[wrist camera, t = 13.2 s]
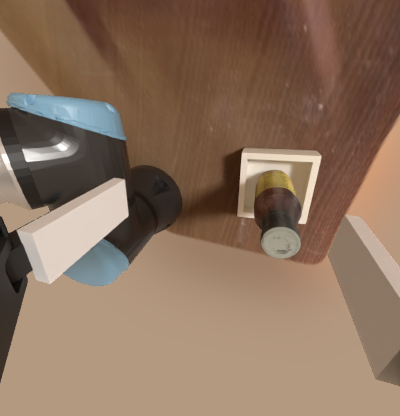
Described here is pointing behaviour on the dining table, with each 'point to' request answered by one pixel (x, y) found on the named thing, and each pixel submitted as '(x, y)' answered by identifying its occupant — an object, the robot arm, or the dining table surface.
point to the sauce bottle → (277, 214)
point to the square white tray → (284, 161)
